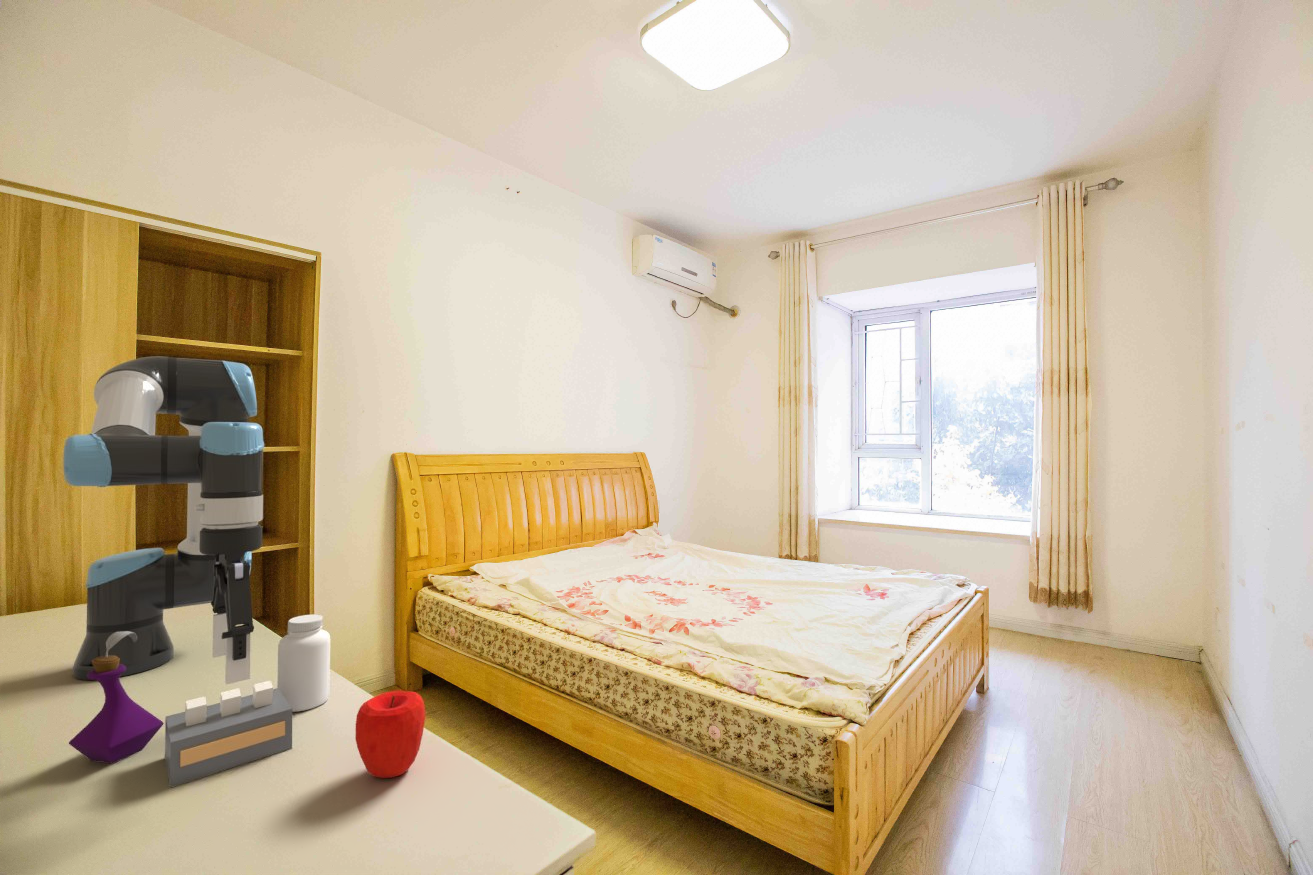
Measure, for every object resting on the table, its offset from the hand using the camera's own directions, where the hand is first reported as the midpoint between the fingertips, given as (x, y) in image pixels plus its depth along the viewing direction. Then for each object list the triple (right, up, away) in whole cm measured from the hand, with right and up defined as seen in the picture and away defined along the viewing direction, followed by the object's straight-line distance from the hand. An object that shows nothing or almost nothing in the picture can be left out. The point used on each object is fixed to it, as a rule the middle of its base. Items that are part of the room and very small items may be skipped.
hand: (230, 667), depth 84 cm
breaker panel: (0, -13, 0) cm, 13 cm away
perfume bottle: (-16, -13, -1) cm, 21 cm away
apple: (+26, -13, -5) cm, 30 cm away
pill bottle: (+1, -13, +16) cm, 21 cm away
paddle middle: (0, -7, 0) cm, 7 cm away
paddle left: (-3, -7, -3) cm, 8 cm away
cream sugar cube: (+3, -7, +3) cm, 8 cm away
